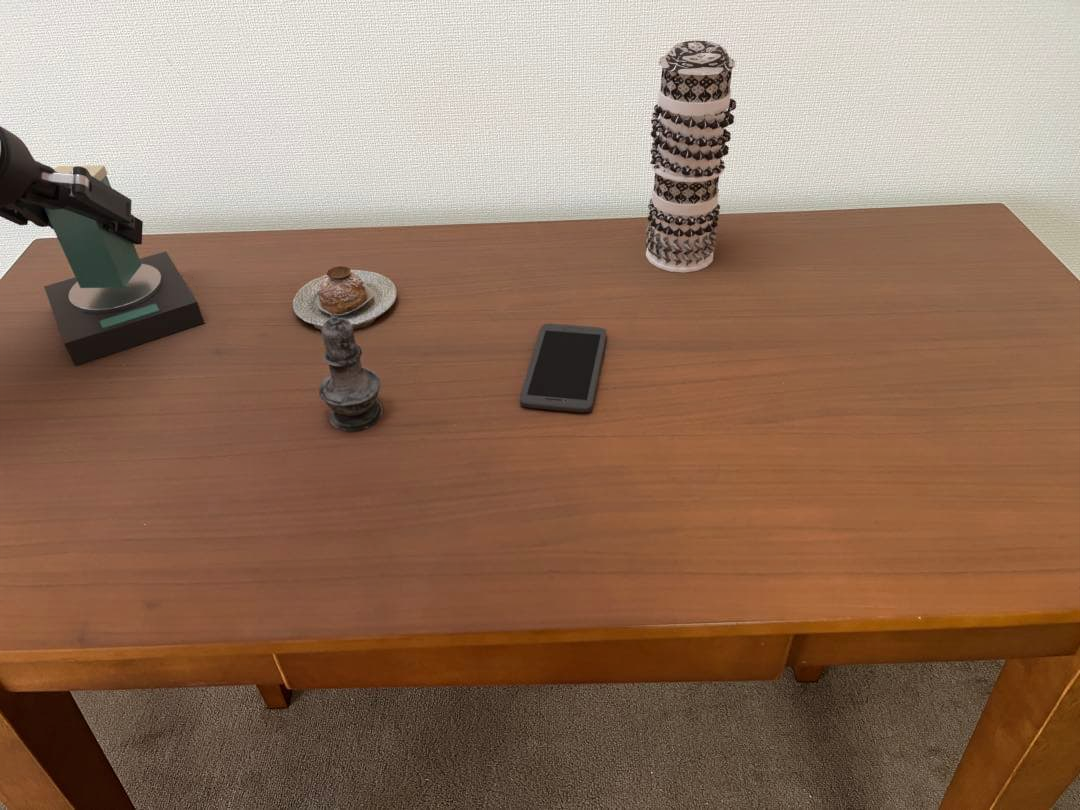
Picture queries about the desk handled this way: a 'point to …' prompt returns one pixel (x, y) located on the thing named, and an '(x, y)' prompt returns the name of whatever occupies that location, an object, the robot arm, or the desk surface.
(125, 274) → the spice tin
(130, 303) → the scale pan
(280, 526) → the desk surface
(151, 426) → the desk surface
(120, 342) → the scale
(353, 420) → the dark grey piece
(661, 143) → the decorative candle
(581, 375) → the cell phone
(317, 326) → the pastry
